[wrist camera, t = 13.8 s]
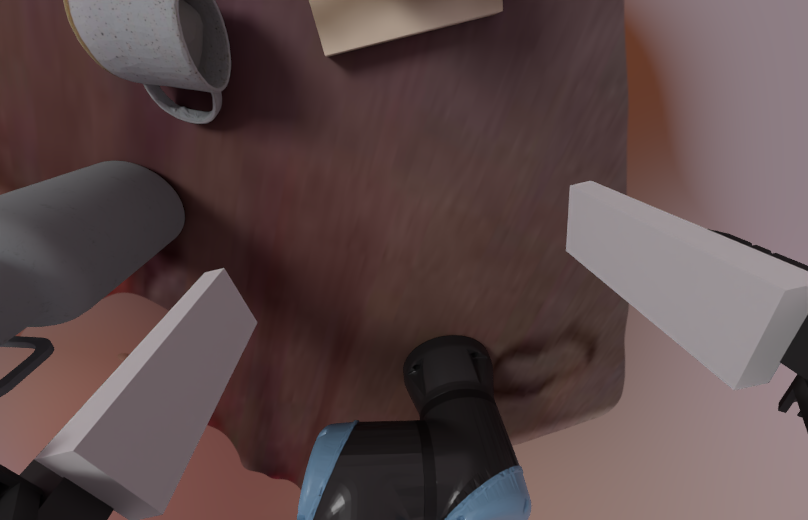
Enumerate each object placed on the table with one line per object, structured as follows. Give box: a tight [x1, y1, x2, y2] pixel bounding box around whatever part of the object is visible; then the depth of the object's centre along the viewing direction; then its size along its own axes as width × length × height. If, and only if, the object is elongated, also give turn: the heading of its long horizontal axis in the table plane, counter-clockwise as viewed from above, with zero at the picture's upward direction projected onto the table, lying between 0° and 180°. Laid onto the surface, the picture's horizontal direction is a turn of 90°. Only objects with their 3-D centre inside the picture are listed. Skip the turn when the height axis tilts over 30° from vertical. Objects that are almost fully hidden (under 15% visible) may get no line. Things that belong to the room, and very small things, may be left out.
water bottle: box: [0, 161, 185, 397], centre depth 22 cm, size 10×10×28 cm
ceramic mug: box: [63, 0, 231, 124], centre depth 25 cm, size 11×8×8 cm
